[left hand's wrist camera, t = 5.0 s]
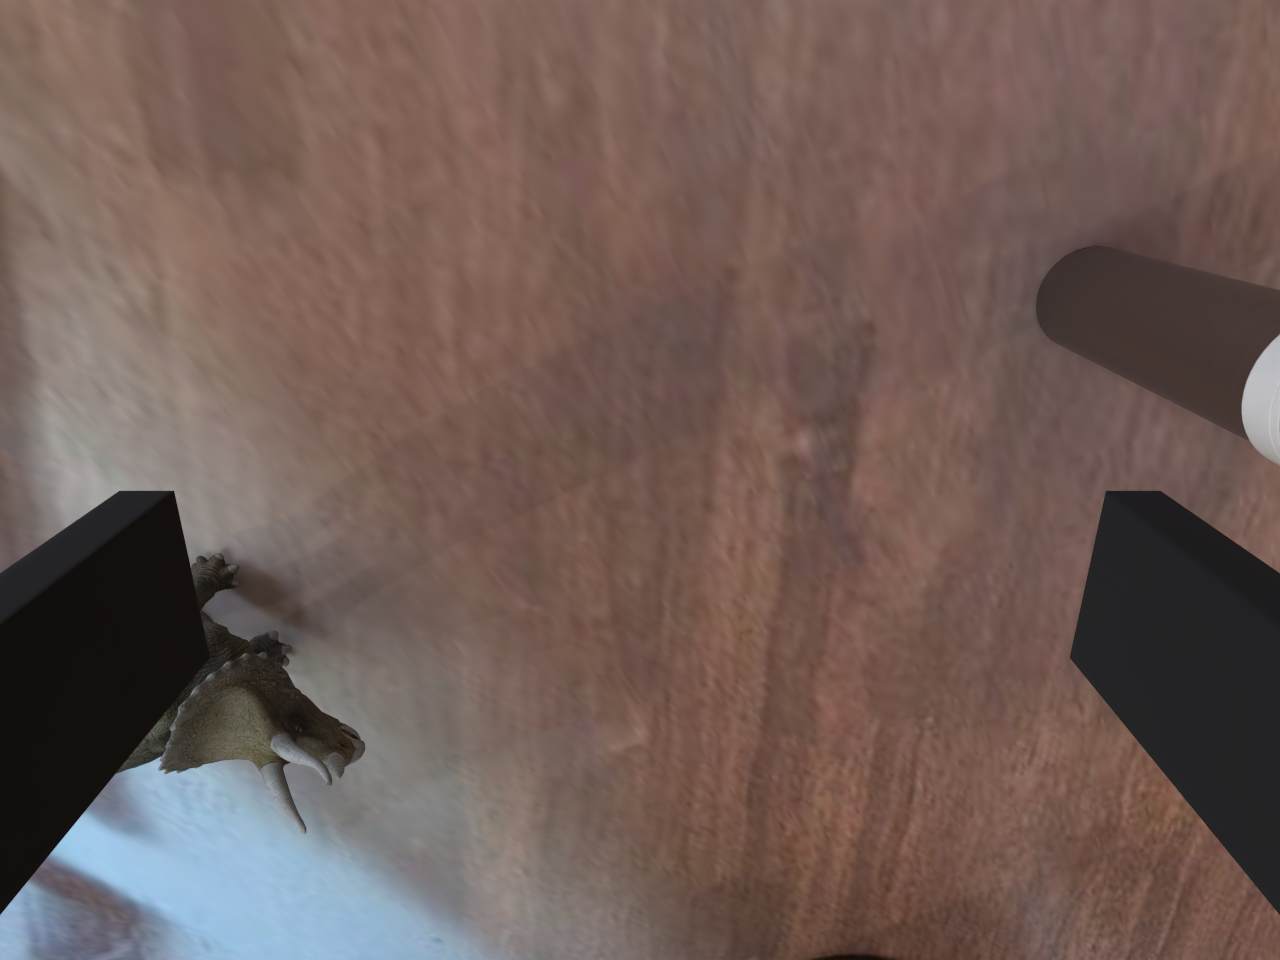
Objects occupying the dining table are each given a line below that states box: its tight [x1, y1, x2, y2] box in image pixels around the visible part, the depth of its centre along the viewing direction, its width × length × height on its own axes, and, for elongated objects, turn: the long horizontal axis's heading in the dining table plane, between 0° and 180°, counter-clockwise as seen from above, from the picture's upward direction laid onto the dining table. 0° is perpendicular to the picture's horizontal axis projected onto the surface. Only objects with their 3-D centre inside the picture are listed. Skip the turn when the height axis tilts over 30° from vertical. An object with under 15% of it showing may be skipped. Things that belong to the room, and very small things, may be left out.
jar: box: [1036, 247, 1280, 441], centre depth 31 cm, size 4×4×16 cm
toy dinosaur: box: [116, 553, 365, 834], centre depth 40 cm, size 22×8×11 cm, turn 99°
